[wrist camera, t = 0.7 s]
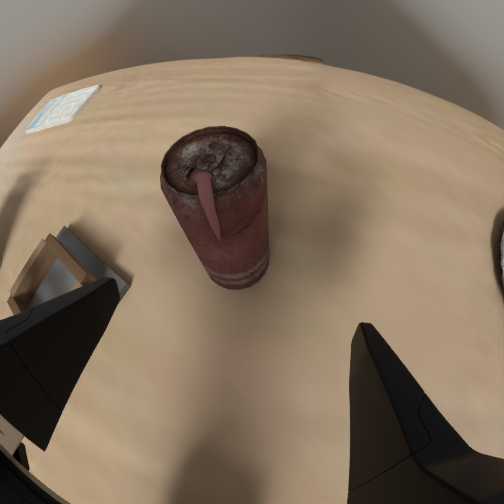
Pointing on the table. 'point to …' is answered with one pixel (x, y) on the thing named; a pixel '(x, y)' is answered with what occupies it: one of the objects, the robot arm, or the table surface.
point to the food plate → (502, 253)
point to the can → (221, 202)
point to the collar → (58, 272)
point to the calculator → (62, 109)
